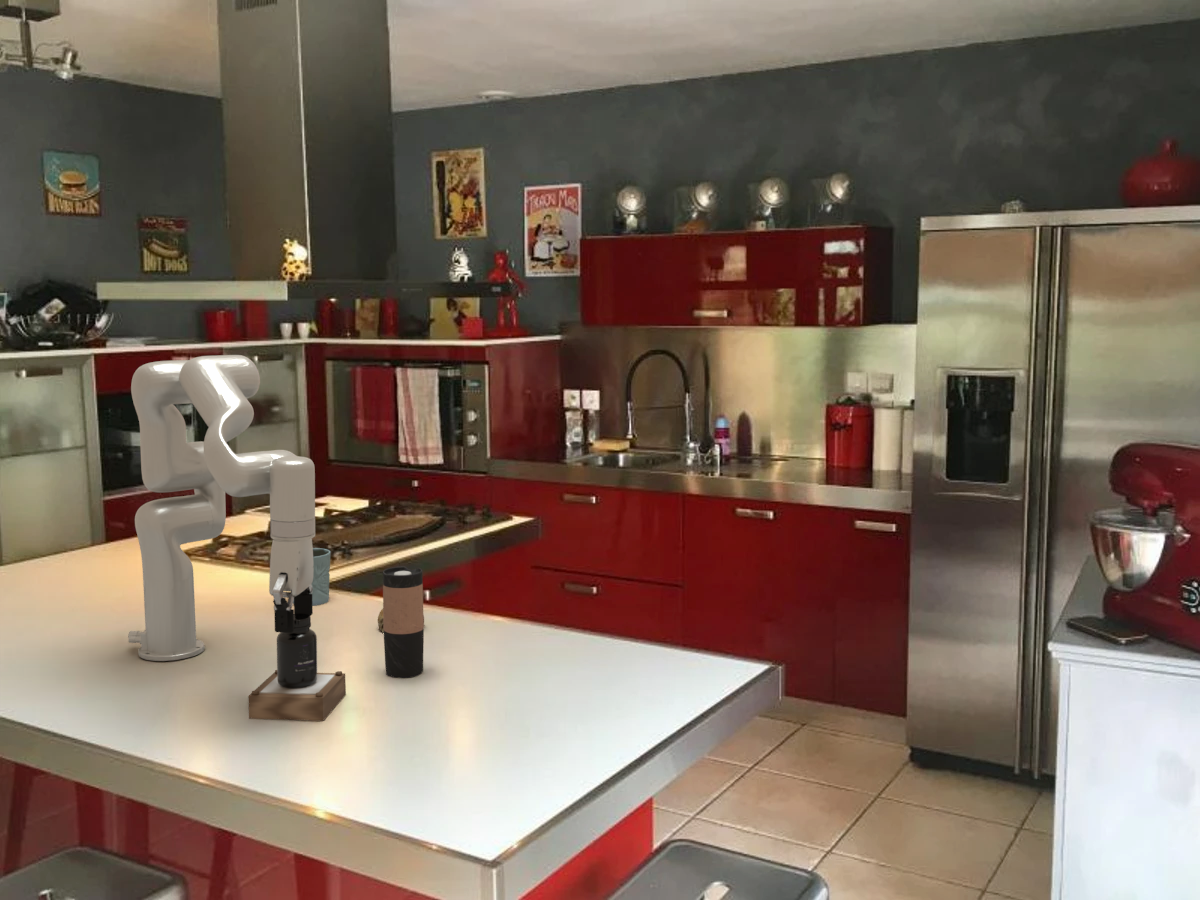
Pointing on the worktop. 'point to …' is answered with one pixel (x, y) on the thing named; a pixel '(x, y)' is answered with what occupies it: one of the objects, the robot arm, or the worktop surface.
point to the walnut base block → (297, 698)
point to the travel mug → (403, 621)
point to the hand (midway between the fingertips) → (294, 623)
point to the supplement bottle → (297, 654)
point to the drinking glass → (320, 576)
